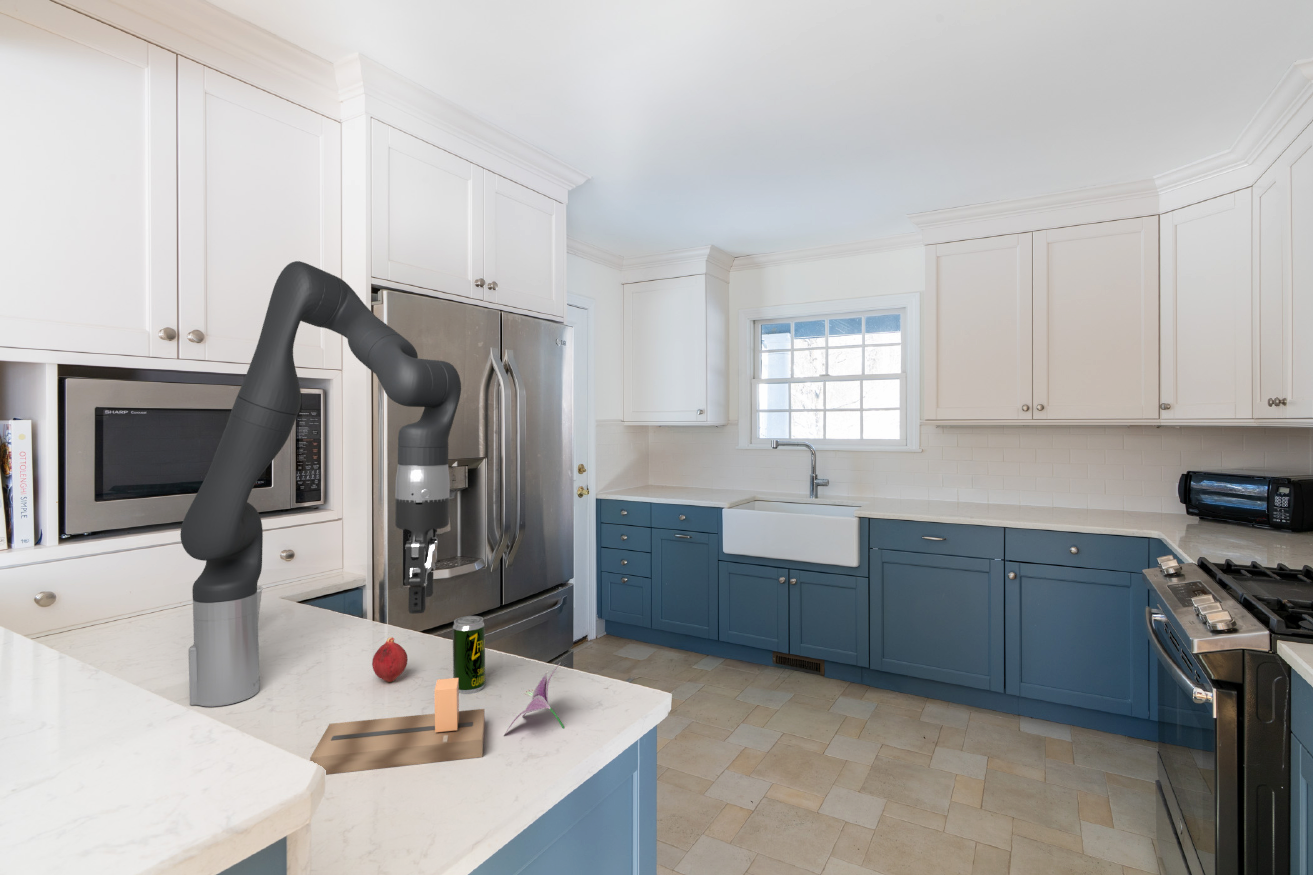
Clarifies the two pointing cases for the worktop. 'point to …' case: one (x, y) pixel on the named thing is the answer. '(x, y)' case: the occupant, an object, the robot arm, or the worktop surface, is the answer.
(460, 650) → the green soda can
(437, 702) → the fader knob
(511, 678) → the worktop surface
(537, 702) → the lily
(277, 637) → the worktop surface
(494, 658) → the worktop surface
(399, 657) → the onion
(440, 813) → the worktop surface
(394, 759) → the fader base
